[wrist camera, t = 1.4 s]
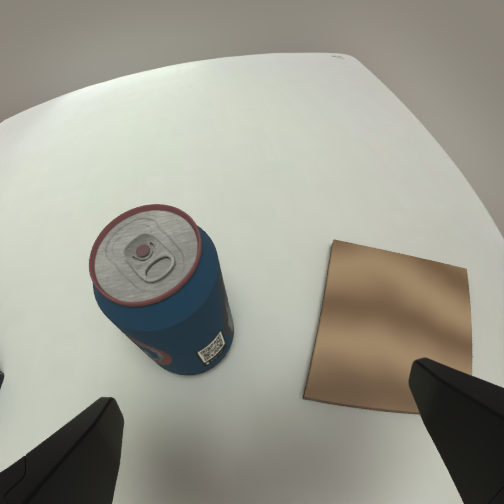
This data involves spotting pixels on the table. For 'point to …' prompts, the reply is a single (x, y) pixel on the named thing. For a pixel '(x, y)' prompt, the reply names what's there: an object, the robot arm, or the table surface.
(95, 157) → the table surface
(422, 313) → the coaster board
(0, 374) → the small box
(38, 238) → the table surface
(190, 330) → the soda can
